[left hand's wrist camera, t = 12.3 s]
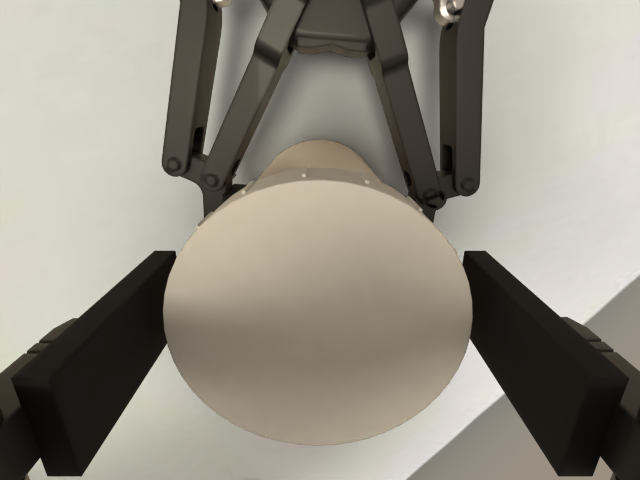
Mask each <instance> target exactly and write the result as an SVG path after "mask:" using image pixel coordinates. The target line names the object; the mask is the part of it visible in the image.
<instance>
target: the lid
mask: <svg viewBox="0 0 640 480" xmlns="http://www.w3.org/2000/svg"><path fill="white" fill-rule="evenodd" d="M422 211H423V209H422V208H421V207H420V206H419V205H418V204H417V203H416V202H415V201H414V200H413V199H412V198H411V197H409V196H407V197H405V196H403V195H402V194H401V193H399V192H398V191H397V190H395V189H394V188H392V187H390V186H388V185H386V184H384V183H383V182H381V181H379V180H376V179H374V178H371V177H368V176H366V175H365V174H364V173H363V172H362V171H360V172H359V173H356V172H352V171H347V170H343V169H335V168H324V167H317V168H308V167H307V165H306V166H304V168H300V169H294V170H288V171H283V172H280V173H277V174H273V175H270V176H267V177H264V178H262V179H260V180H258V181H256V182H255V181H254V180H252V181H250V182H249V183H248V184H247V186H246V187H244V188H243V189H241V190H240V191H238V192H237V193H235V194H234V195H232V196H231V197H230V198H229V199H228V200H226V201H225V202H224V203H223V204H222V205H221V206H220V207H218V208H217V209H216V210H215V212H214V213H213V212H212V211H211V212H210V213H209V214H208V215H207V216H206V217H205V218H204V219H203V220H202V221H201V222H200V223H199V224H198V225H197V226H196V227H195V228H196V229H197V230H196V231H195V233H194V234H193V235H192V236H191V237H190V238H189V240H188V241H187V242H186V244H185V245H184V247H183V248H182V250H181V252H180V253H179V255H178V257H177V258H176V260H175V263H174V265H173V267H172V270H171V272H170V275H169V278H168V282H167V286H166V290H165V294H164V306H163V319H164V331H165V335H166V340H167V344H168V348H169V350H170V353H171V355H172V358H173V361H174V363H175V365H176V366H177V368H178V370H179V372H180V374H181V376H182V377H183V379H184V380H185V381H186V383H187V384H188V385H189V387H190V388H191V389H192V391H193V392H194V393H195V394H196V395H197V396H198V397H199V398H200V399H201V400H202V401H203V402H204V403H205V404H206V405H207V406H209V407H210V408H211V409H212V410H213V411H215V412H216V413H217V414H219V415H220V416H222V417H223V418H225V419H226V420H228V421H229V422H231V423H233V424H235V425H237V426H239V427H241V428H243V429H245V430H247V431H249V432H252V433H254V434H257V435H260V436H262V437H265V438H269V439H273V440H277V441H281V442H287V443H293V444H301V445H335V444H343V443H350V442H354V441H359V440H363V439H367V438H370V437H373V436H376V435H379V434H382V433H384V432H386V431H389V430H391V429H393V428H395V427H397V426H399V425H401V424H403V423H404V422H406V421H408V420H409V419H411V418H413V417H414V416H416V415H417V414H418V413H420V412H421V411H422V410H424V409H425V408H426V407H427V406H428V405H429V404H430V403H432V402H433V401H434V400H435V399H436V398H437V397H438V396H439V395H440V394H441V392H442V391H443V390H444V389H445V387H446V386H447V385H448V384H449V383H450V381H451V379H452V378H453V376H454V375H455V373H456V371H457V370H458V368H459V366H460V364H461V362H462V359H463V357H464V355H465V353H466V349H467V346H468V342H469V339H470V334H471V327H472V319H473V317H472V297H471V292H470V286H469V282H468V279H467V276H466V273H465V270H464V268H463V265H462V263H461V261H460V259H459V257H458V256H457V251H456V250H455V249H454V248H453V247H452V246H451V244H450V243H449V242H448V240H447V239H446V238H445V236H444V235H443V234H442V232H441V231H440V230H439V229H438V228H437V227H436V226H435V225H434V224H433V223H432V222H431V221H430V220H429V219H428V218H427V217H426V216H425V215H424V214H423V213H422Z"/></svg>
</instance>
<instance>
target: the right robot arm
mask: <svg viewBox="0 0 640 480" xmlns="http://www.w3.org/2000/svg"><path fill="white" fill-rule="evenodd" d="M231 1H232V0H180V9H179V18H178V26H177V35H176V44H175V52H174V61H173V69H172V78H171V86H170V95H169V104H168V112H167V121H166V129H165V138H164V146H163V155H162V167H163V169H164V171H165V172H166V173H167V174H169V175H171V176H176V177H178V176H181V177H183V178H186V179H188V180H190V181H193V182H194V183H196V184H197V185H198V186H199V187H200V188H201V190H202V193H203V204H204V218H205V217H206V216H207V215H208V214H209V213H210V212H211V211H212V212H213V213H214V212H215V210H216V209H217V208H218V207H220V206H221V205H222V204H223V203H224V202H225V201H226V200H228V199H229V198H230V197H231V196H232V195H234V194H235V193H237V192H238V191H240V190H241V189H243V188H244V187H246V186H247V185H243V184H234V185H233V186H232V179H233V178H234V177H235V176H236V174H235V173H236V171H237V168H238V166H239V164H240V162H241V160H242V158H243V156H244V154H245V151H246V149H247V147H248V145H249V143H250V141H251V139H252V137H253V134H254V132H255V130H256V128H257V126H258V124H259V122H260V120H261V117H262V115H263V113H264V111H265V109H266V107H267V105H268V102H269V100H270V98H271V96H272V94H273V92H274V90H275V88H276V85H277V83H278V81H279V79H280V77H281V75H282V73H283V71H284V70H285V68H286V66H287V65H288V63H289V61H290V58H291V56H292V54H293V52H294V50H295V49H296V50H298V51H299V53H306V54H318V53H322V52H327V51H333V52H335V53H338V54H340V55H343V56H346V57H356V58H362V56H364V55H366V58H367V61H368V64H369V68H370V71H371V73H372V75H373V77H374V79H375V82H376V86H377V89H378V92H379V96H380V99H381V102H382V106H383V109H384V112H385V116H386V119H387V122H388V125H389V129H390V132H391V135H392V139H393V142H394V145H395V149H396V152H397V155H398V159H399V162H400V165H401V169H402V172H403V175H404V179H405V182H406V185H407V189H408V191H409V192H408V196H409V197H411V198H412V199H413V200H414V201H415V202H416V203H417V204H418V205H419V206H420V207H421V208H422V209H423V211H422V213H423V214H424V215H425V216H426V217H427V218H428V219H429V220H430V221H431V222H432V223H433V221H434V215H435V211H436V210H438V209H440V208H442V207H443V206H444V204H445V203H446V200H447V199H448V198H452V197H455V196H459V195H462V196H470V195H473V194H474V193H475V192H476V191H477V190H478V188H479V184H480V158H481V125H482V92H483V58H484V27H485V25H486V22H487V19H488V16H489V13H490V10H491V7H492V4H493V1H494V0H433V3H434V18H435V20H436V22H437V23H438V24H440V25H442V30H441V37H440V47H439V75H440V171H437V172H436V168H435V164H434V160H433V157H432V153H431V149H430V146H429V142H428V138H427V134H426V131H425V127H424V123H423V119H422V116H421V112H420V108H419V104H418V101H417V97H416V93H415V89H414V86H413V82H412V78H411V75H410V71H409V67H408V53H407V48H406V44H405V41H404V37H403V33H402V29H401V26H400V22H401V21H402V20H403V18H404V17H405V16H406V15H407V13H408V12H409V11H410V10H411V8H412V7H413V6H414V4H415V3H416V2H417V1H418V0H260V1H261V3H262V4H263V6H264V8H265V10H266V11H267V13H268V14H267V17H266V19H265V21H264V23H263V26H262V28H261V30H260V33H259V35H258V37H257V40H256V43H255V46H254V52H253V55H252V57H251V60H250V62H249V64H248V66H247V69H246V71H245V73H244V76H243V78H242V80H241V82H240V85H239V87H238V89H237V92H236V94H235V96H234V98H233V101H232V103H231V105H230V108H229V110H228V112H227V115H226V117H225V119H224V121H223V124H222V126H221V128H220V131H219V133H218V135H217V137H216V140H215V142H214V144H213V147H212V149H211V151H210V153H209V156H207V155H204V154H203V147H204V141H205V134H206V128H207V121H208V115H209V108H210V102H211V95H212V89H213V82H214V76H215V70H216V63H217V57H218V50H219V44H220V37H221V29H222V9H221V8H223V7H226V6H228V5H229V4H230V3H231ZM403 196H404V195H403ZM405 197H407V196H405Z"/></svg>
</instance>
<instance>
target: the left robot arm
mask: <svg viewBox="0 0 640 480" xmlns="http://www.w3.org/2000/svg"><path fill="white" fill-rule="evenodd" d="M175 260H176V252H175V251H154V252H153V253H152V254H151V255H150V256H148V257H147V258H146V259H145V260H144V261H143V262H142V263H140V264H139V265H138V266H137V267H136V268H135V269H134V270H133V271H131V272H130V273H129V274H128V275H127V276H126V277H125V278H123V279H122V280H121V281H120V282H119V283H118V284H117V285H116V286H114V287H113V288H112V289H111V290H110V291H109V292H108V293H106V294H105V295H104V296H103V297H102V298H101V299H100V300H99V301H97V302H96V303H95V304H94V305H93V306H92V307H91V308H89V309H88V310H87V311H86V312H85V313H84V314H83V315H81V316H80V317H79V318H73V319H71V320H69V321H67V322H65V323H63V324H62V325H60V326H58V327H56V328H54V329H53V330H52V331H50V332H49V333H48V334H47V335H46V336H44V337H43V338H42V339H41V340H40V341H39V343H36V344H35V345H34V346H32V347H31V348H30V349H29V350H28V351H27V354H23V355H22V356H21V357H19V358H18V359H17V360H16V361H15V362H13V363H12V364H11V365H10V366H9V367H7V368H6V369H5V370H4V371H3V372H2V373H0V480H30V479H29V477H28V474H27V473H28V472H29V471H30V470H31V468H32V467H33V466H34V465H35V463H36V462H37V461H38V460H39V458H41V460H42V463H43V466H44V468H45V471H46V474H47V476H82V475H83V473H84V472H85V470H86V469H87V467H88V465H89V464H90V462H91V461H92V459H93V458H94V456H95V455H96V453H97V451H98V450H99V448H100V447H101V445H102V444H103V442H104V441H105V439H106V437H107V436H108V434H109V433H110V431H111V430H112V428H113V427H114V425H115V423H116V422H117V420H118V419H119V417H120V416H121V414H122V413H123V411H124V409H125V408H126V406H127V405H128V403H129V402H130V400H131V399H132V397H133V395H134V394H135V392H136V391H137V389H138V388H139V386H140V385H141V383H142V381H143V380H144V378H145V377H146V375H147V374H148V372H149V371H150V369H151V367H152V366H153V364H154V363H155V361H156V360H157V358H158V357H159V355H160V353H161V352H162V350H163V349H164V347H165V346H166V344H167V340H166V335H165V331H164V319H163V306H164V294H165V290H166V286H167V282H168V278H169V275H170V272H171V270H172V267H173V265H174V263H175ZM463 268H464V270H465V273H466V276H467V279H468V282H469V286H470V292H471V297H472V317H473V319H472V327H471V334H470V339H471V341H472V342H473V344H474V346H475V347H476V349H477V350H478V352H479V353H480V355H481V356H482V358H483V360H484V361H485V363H486V364H487V366H488V367H489V369H490V371H491V372H492V374H493V375H494V377H495V378H496V380H497V381H498V383H499V385H500V386H501V388H502V389H503V391H504V392H505V394H506V395H507V397H508V399H509V400H510V402H511V403H512V405H513V406H514V408H515V409H516V411H517V412H518V414H519V416H520V417H521V419H522V420H523V422H524V423H525V425H526V427H527V428H528V430H529V431H530V433H531V434H532V436H533V437H534V439H535V441H536V442H537V444H538V445H539V447H540V448H541V450H542V451H543V453H544V455H545V456H546V458H547V459H548V461H549V462H550V464H551V465H552V467H553V468H554V470H555V472H556V473H557V475H558V476H593V474H594V471H595V468H596V466H597V463H598V460H599V458H600V456H601V458H602V459H603V460H604V461H605V463H606V464H607V465H608V466H609V468H610V469H611V470H612V471H613V474H612V477H611V479H610V480H640V371H638V370H637V369H636V368H635V367H634V366H632V365H631V364H630V363H629V362H628V361H626V360H625V359H624V358H623V357H621V356H620V355H619V354H618V353H617V352H614V351H613V349H612V348H611V347H610V346H608V345H607V344H606V343H605V342H601V339H600V338H599V337H598V336H596V335H595V334H594V333H593V332H592V331H590V330H589V329H588V328H587V327H585V326H583V325H581V324H579V323H577V322H576V321H574V320H572V319H570V318H568V317H560V316H559V315H557V314H556V313H555V312H554V311H553V310H552V309H551V308H549V307H548V306H547V305H546V304H545V303H544V302H543V301H542V300H540V299H539V298H538V297H537V296H536V295H535V294H534V293H532V292H531V291H530V290H529V289H528V288H527V287H526V286H525V285H523V284H522V283H521V282H520V281H519V280H518V279H517V278H515V277H514V276H513V275H512V274H511V273H510V272H509V271H507V270H506V269H505V268H504V267H503V266H502V265H501V264H500V263H498V262H497V261H496V260H495V259H494V258H493V257H492V256H490V255H489V254H488V253H487V252H486V251H465V252H464V258H463Z"/></svg>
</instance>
